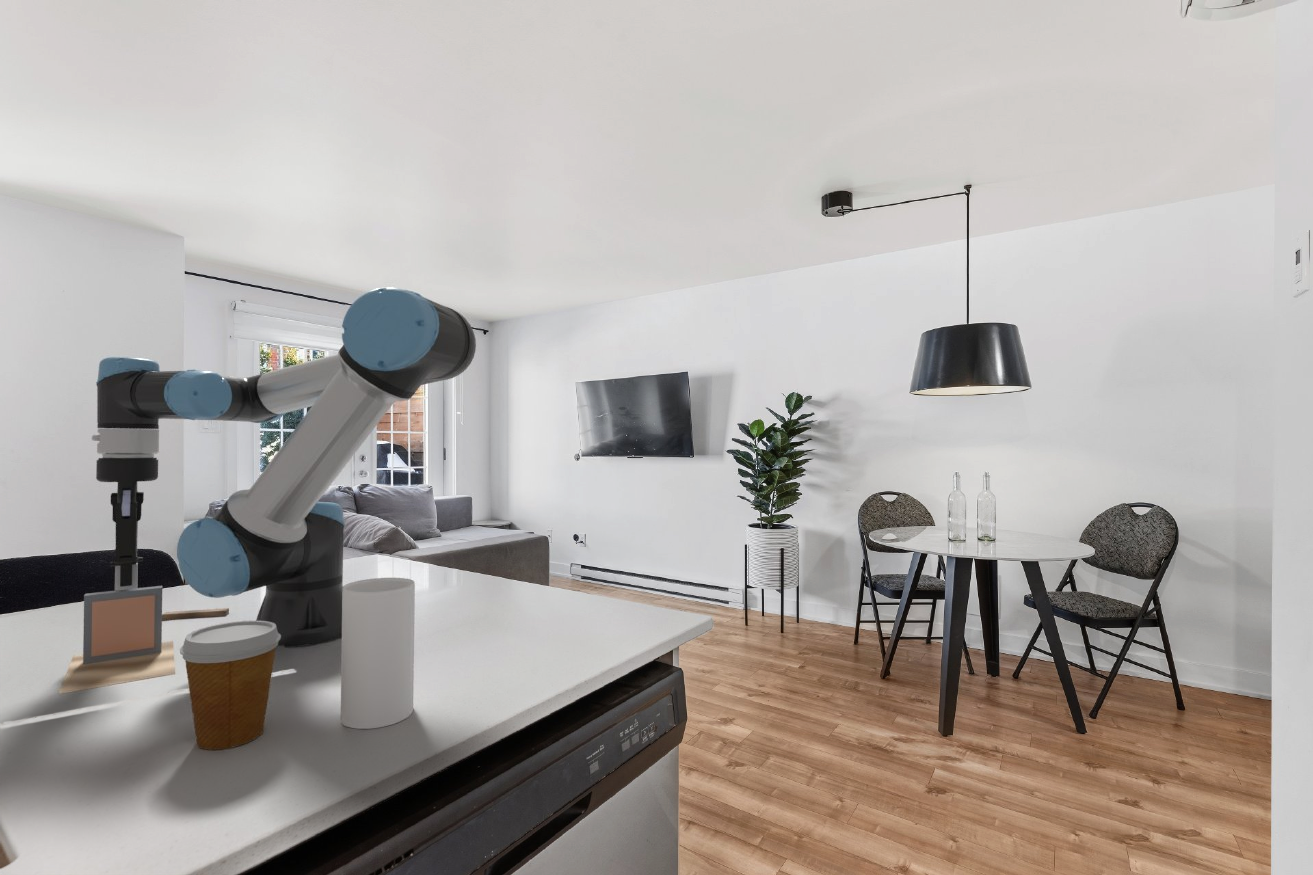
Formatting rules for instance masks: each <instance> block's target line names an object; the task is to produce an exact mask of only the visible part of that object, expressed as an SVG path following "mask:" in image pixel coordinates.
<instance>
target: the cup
mask: <svg viewBox="0 0 1313 875" xmlns="http://www.w3.org/2000/svg"><path fill="white" fill-rule="evenodd" d="M415 584H416V583H415V580H413V579H410V578H405V577H376V578H366V579H361V580H356V581H352V582H349V583H346V584H345V585H343V590H342V637H341V652H340V653H341V658H340V660H341V662H340V663H341V666H340V671H341V672H340V673H341V674H340V723H341V724H342V725H343V726H345V727H346V728H347V727H348V728H351V729H355V730H356V729H357V730H368V729H371V730H372V729H379V728H385V727H387V726H391V725H394V724H397V723H400V722H402V721H404V720H405V719H407V718H408V717H410V716H411V714H413V712H414V689H415V687H414V678H415V671H414V670H415V614H416V613H415V607H416V606H415V605H416V604H415V603H416V602H415V600H416V599H415V596H416V594H415V592H416V588H415V587H416V585H415Z"/></svg>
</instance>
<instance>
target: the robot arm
mask: <svg viewBox="0 0 1313 875" xmlns="http://www.w3.org/2000/svg"><path fill="white" fill-rule="evenodd" d="M342 320H343V321H342V324H341V327H342V328H343V333H341V340H342V343H343V345H342V346H341V347H340V349H339V350H338V352H337V353H334V354H330V355H327V356H322V357H320V358H315V359H312V360H308V361H303V362H300V363H297V364H293V365H289V366H286V367H282V368H278V369H274V370H271V371H267V372H265V373H261V374H256V375H253V376H249V377H239V376H237V377H236V376H229V375H221V374H219V373H217V372H214V371H210V370H209V371H208V370H198V369H187V370H167V371H166V370H163V371H162V370H160V365H159V363H158V361H156V360H153V359H147V358H140V357H119V356H117V357H116V356H112V357H111V356H109V357H108V356H107V357H105V358H103V359H101V360H100V361H99V364H98V375H97V380H96V382H95V383H96V384H95V385H96V387H97V388H96V390H97V394H96V396H97V397H96V398H97V400H96V402H97V403H96V405H97V406H96V409H97V412H96V417H97V419H96V420H97V421H96V423H97V425H96V426H97V433H98V434H93V435H92V436H91V440H92V441H95V442H98V443H97V444H96V445H97V447H96V452H97V454H98V455H102V457H98V459H96V475H95V476H96V477H95V478H96V481H98V482H101V483H117V491H116V492H111V494H110V505H111V506H112V522H114V523H115V558H114V561H110V562H109V567H114V591H117V590H126V589H136V588H138V580H139V579H138V573H139V572H138V568H139V566H138V565H139V563H138V562H143V561H144V557H143V556H138V555H139V550H138V531H139V530H138V529H139V528H138V526H139V524H138V523H139V521H141V518H142V505H143V502H144V500H145V498H144V493H145V492H144V491H138V482H151V481H152V482H153V481H156V480H157V479H158V478H159V459H157V458H158V457H155V455H157V454H159V453H160V426H159V420H160V419H161V420H162V419H165V420H167V419H168V420H169V419H170V420H192V421H196V420H199V421H228V422H248V423H255V424H261V423H269V422H271V423H272V422H275V421H278V420H280V419H281V418H282V417H283V416H284V415H286V413H287V414H288V413H291V412H294V411H298V410H299V411H300V410H303V409H307V408H309V409H308V411H307V412H306V414H305V415H304V416H303V417H302V419H301V420H300V422H299V423H298V424H297V426H295V428H294V430H293V431H292V432H291V434H290V435H289V437H287V439H286V440H285V442H284V443H283V444H282V445H281V447H280V448H279V450H277V453H275V455H274V456H273V458H272V459H271V460H270V462H269V463H268V464H267V465H266V467H265V468H264V470H263V471H262V473H260V475H259V476H258V478H257V479H256V480H255V482H254V483H253V485H252V486H251V487H250V488H249V489H241V490H237V491H235V492H234V493H232V494H231V495H230V496H229V497H228V499H227V500H226V501H225V502H224V504H223V505H222V507H220V509H219V510H218V512H217V513H216V514H215V515H214V516H213V517H203V518H200V519H198V520H197V521H193V522H191V523H190V524H188V525H187V526H186V527H185V528H184V530H183V531H182V533H181V535H180V536H179V539H178V542H177V546H176V558H177V561H178V568H179V571H180V574H181V575H182V577H183V579H184V581H185V582H186V583H187V585H188V586H189V587H191V588H192V590H194V591H195V592H197V593H198V594H199V595H202V596H204V597H208V598H215V599H218V598H224V597H228V596H229V597H230V596H231V597H234V596H239V595H241V594H243V593H245V592H249V591H252V590H257V589H259V588H262V587H265V595H264V597H263V600H262V603H261V606H260V608H259V610H258V613H257V616H256V620H255V621H268V622H272V623H274V624H276V627H277V631H278V633H279V634H280V635H281V639H280V640H279V641H278V645H277V646H284V648H294V647H305V646H310V645H318V644H322V643H326V642H330V641H334V640H336V639H337V640H338V639H339V638H342V590H343V586H344V585H343V584H344V583H343V581H344V580H343V578H344V576H343V573H344V569H343V568H344V529H345V526H346V523H345V522H344V510H343V507H342V506H341V505H340V504H339V503H337V502H328V501H326V502H325V501H320V499H321V498H322V497H323V495H324V494H325V493H326V491H328V490H329V487H330V486H331V485H332V483H333V482H334V481H336V479H337V477H338V476H339V475H340V473H341V472H342V471H343V469H344V468H345V467H346V465H347V464H348V463H349V462H350V460H351V459H352V458H353V456H354V455H355V454H356V453H357V451H358V450H359V449H360V447H361V446H362V445H363V443H364V442H365V441H366V440H367V439H368V437H369V436H370V434H371V433H372V432H373V430H374V429H375V428H376V427H377V425H378V424H379V422H380V421H381V420H382V419H383V417H384V416H385V415H386V414H387V412H388V411H389V410H390V408H391V407H392V406H393V405H394V403H396V402H402V401H409V400H410V399H412V397H413V396H414V395H415V393H416V392H417V391H418V390H419V388H420V387H421V386H423V385H428V384H432V383H436V382H441V381H447V380H451V379H454V378H456V377H458V376H459V375H462V373H464V372H466V370H467V369H468V367H470V365H471V364H472V362H473V360H474V358H475V354H476V349H477V343H476V342H477V340H476V339H477V338H476V335H475V332H474V329H473V327H472V326H471V324H470V323H469V321H468V320H467V319H466V318H465V317H464V316H463V315H462V314H461V313H460V312H458V311H456V310H455V309H453V308H451V307H448V306H446V305H442V304H440V303H438V302H435V301H433V300H431V299H428V298H427V297H424V296H422V295H421V294H420V293H418V292H415V291H412V290H411V291H410V290H407V289H401V288H399V287H398V288H397V287H391V286H390V287H388V286H387V287H377V288H375V289H372V290H369V291H367V292H365V293H364V294H362V295H361V296H359V297H358V298H356V299H355V300H354V301H353V302H352V304H350V306H349V307H348V309H347V311H346V312H345V315H344V318H343V319H342Z"/></svg>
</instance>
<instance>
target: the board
mask: <svg viewBox="0 0 1313 875" xmlns="http://www.w3.org/2000/svg"><path fill="white" fill-rule="evenodd" d="M174 653H175V651H174V641H173V640H172V641H171V640H169V641H164V642H163V641H162V646H161V653H155V654H148V655H142V656H136V657H129V658H123V659H116V660H110V661H103V662H97V663H91V664H84V665H83V653H82V654H77V655H76V654H75V655H73V656H72V659H71V661H70V664H69V666H68V669H67V671H66V673H65V676H64V679H63V682H62V684H61V686H60V690H59V692H58V695H61V694H67V693H74V692H78V691H79V692H80V691H85V690H90V689H96V688H102V687H109V686H114V685H120V684H126V683H132V682H137V681H143V680H149V679H155V678H161V677H166V676H172V675H176V667H175V665H176V664H175V654H174Z"/></svg>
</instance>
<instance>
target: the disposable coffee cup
mask: <svg viewBox="0 0 1313 875" xmlns="http://www.w3.org/2000/svg"><path fill="white" fill-rule="evenodd" d="M280 639H281V635H280V634H279V633H278V631H277V627H276V624H274V623H272V622H268V621H256V620H240V621H239V620H238V621H231V622H224V623H219V624H215V625H208V626H206V627H205V626H204V627H202V628H198V629H196V630H193V631H192V632H190V633H188V634H187V635H186V636H185V638H184V641H183V645H181V647H180V648H179V653H180V655H182V659H183V660H184V662H185V668H186V675H187V682H188V683H187V684H188V691H189V696H190V697H189V698H190V704H191V710H192V711H191V712H192V719H193V725H194V731H195V732H194V734H195V741H196V745H197V747H198V748H200V749H201V750H209V751H211V750H212V751H213V750H214V751H216V750H225V749H226V750H227V749H230V748H235V747H238V746H242V745H244V744H247V743H249V742H252V741H254V740H255V739H257V738H259V737H260V736H261V735H262V734H263V733H264V729H265V728H264V727H265V720H266V714H267V708H268V701H269V697H270V696H269V694H270V688H271V681H272V675H273V669H274V662H275V654H276V648H277V646H279V645H278V641H279V640H280Z"/></svg>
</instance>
